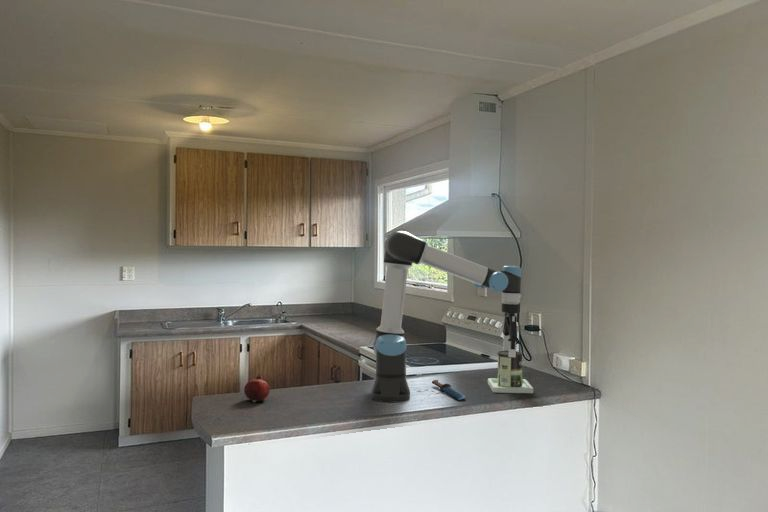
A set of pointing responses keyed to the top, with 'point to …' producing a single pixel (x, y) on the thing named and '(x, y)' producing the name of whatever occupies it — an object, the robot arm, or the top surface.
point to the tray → (524, 389)
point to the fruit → (256, 389)
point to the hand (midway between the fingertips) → (509, 354)
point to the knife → (449, 390)
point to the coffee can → (509, 369)
